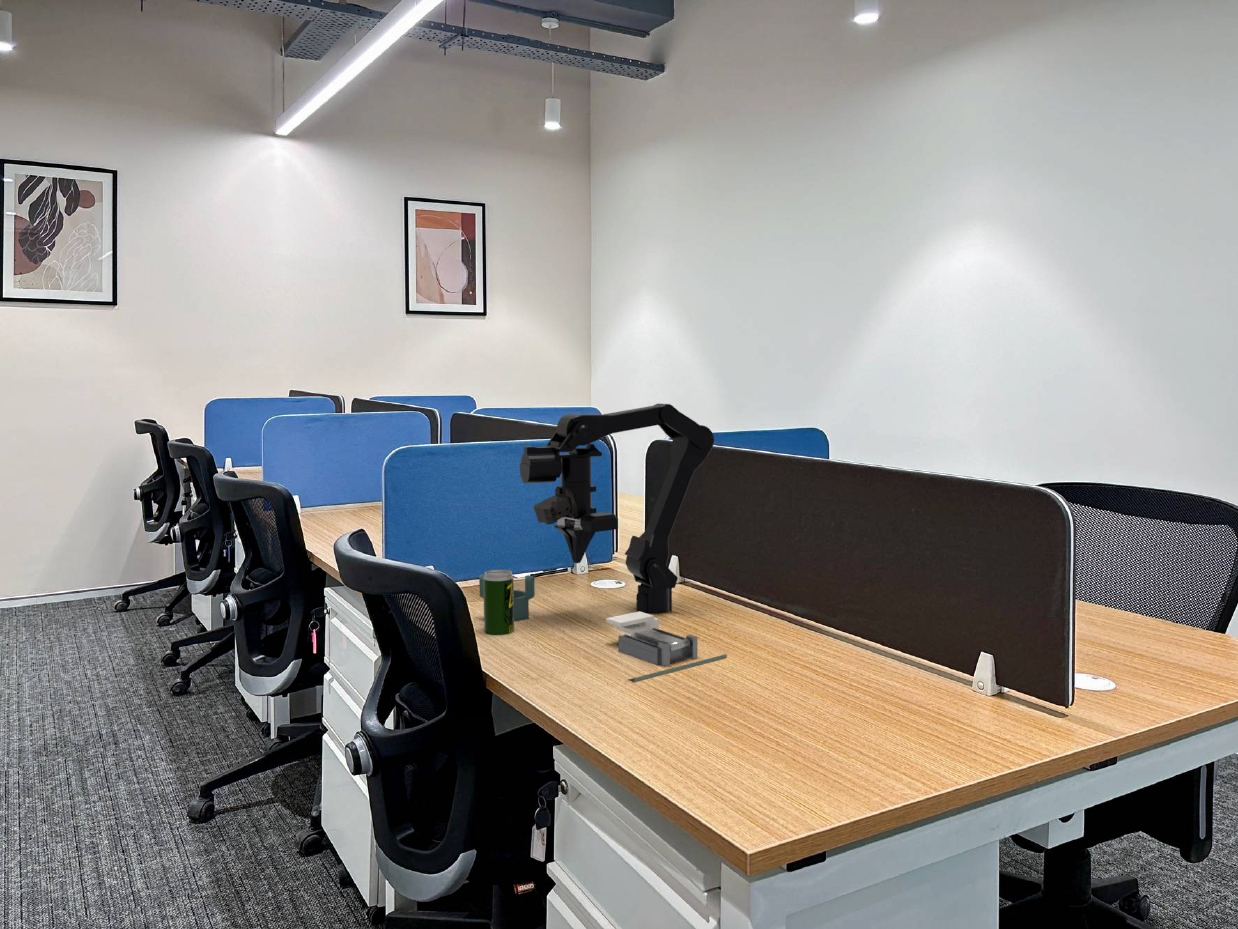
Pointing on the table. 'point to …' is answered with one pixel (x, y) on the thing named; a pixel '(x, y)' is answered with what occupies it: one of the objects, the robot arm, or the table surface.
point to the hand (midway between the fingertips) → (577, 562)
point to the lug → (635, 620)
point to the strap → (654, 636)
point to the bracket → (518, 597)
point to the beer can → (498, 602)
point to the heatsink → (657, 649)
